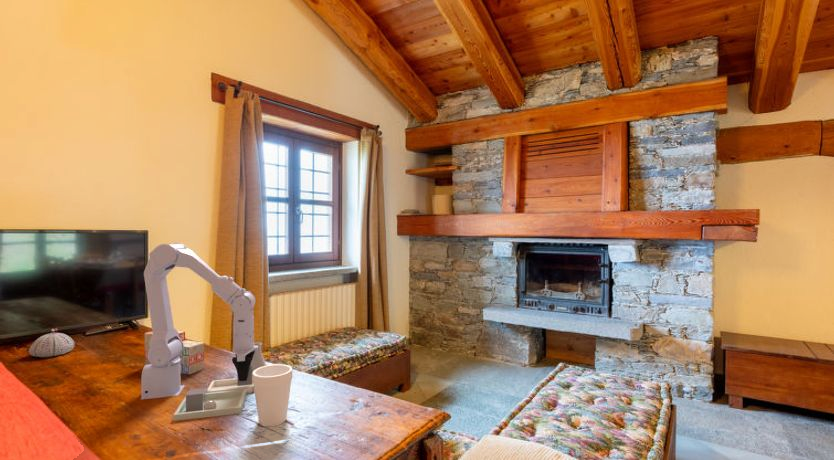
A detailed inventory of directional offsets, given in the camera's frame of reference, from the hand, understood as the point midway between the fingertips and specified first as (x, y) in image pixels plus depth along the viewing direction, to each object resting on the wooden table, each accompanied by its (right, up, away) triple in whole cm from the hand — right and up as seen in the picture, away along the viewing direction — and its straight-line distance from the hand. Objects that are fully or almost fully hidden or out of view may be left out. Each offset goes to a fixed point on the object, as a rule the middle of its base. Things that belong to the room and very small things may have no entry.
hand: (244, 377), depth 124 cm
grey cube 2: (-7, -3, -15) cm, 16 cm away
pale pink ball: (-2, -3, -17) cm, 17 cm away
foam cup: (+16, -4, -21) cm, 27 cm away
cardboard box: (-32, -4, +19) cm, 37 cm away
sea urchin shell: (-89, -4, +35) cm, 96 cm away
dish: (-3, -3, -1) cm, 4 cm away
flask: (-1, -4, +13) cm, 14 cm away
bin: (-3, -3, -13) cm, 14 cm away
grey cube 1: (0, -2, 0) cm, 2 cm away
